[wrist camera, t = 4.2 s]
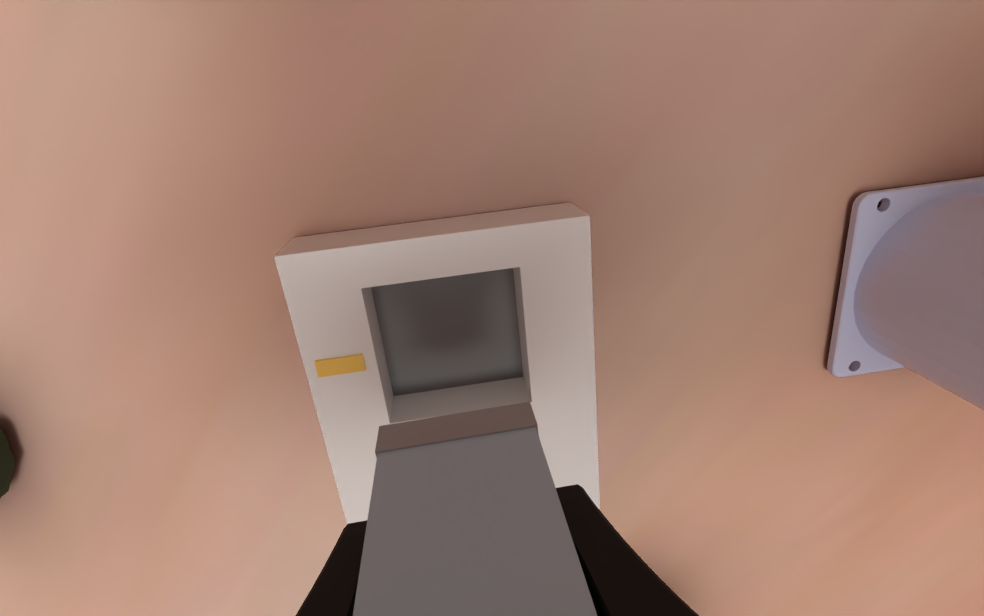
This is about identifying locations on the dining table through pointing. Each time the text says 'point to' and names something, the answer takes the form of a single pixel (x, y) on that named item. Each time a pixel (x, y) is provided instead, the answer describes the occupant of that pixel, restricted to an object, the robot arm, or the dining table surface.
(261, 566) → the dining table surface
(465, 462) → the plug
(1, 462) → the character mug
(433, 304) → the panel
